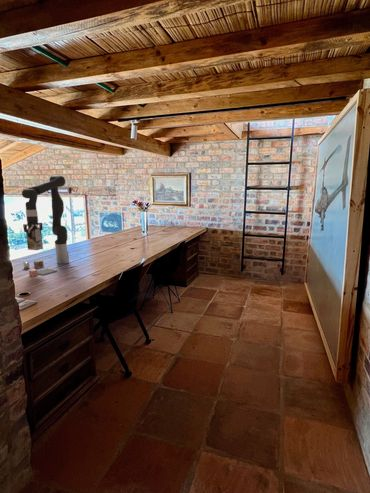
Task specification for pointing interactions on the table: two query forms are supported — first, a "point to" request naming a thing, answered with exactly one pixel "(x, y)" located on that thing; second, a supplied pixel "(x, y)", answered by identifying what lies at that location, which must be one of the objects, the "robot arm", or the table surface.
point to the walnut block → (38, 264)
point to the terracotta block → (33, 272)
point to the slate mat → (46, 271)
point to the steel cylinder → (26, 265)
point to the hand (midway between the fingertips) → (34, 236)
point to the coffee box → (35, 240)
